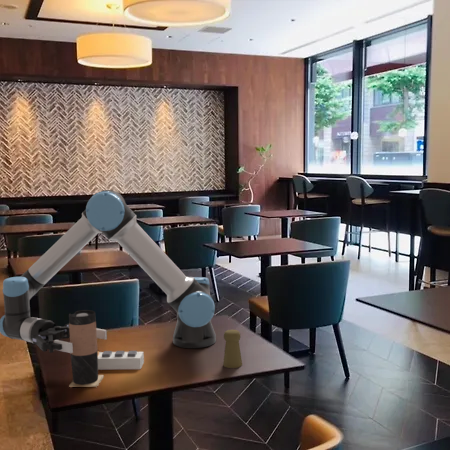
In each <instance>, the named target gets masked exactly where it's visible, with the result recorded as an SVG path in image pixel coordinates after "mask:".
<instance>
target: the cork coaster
mask: <svg viewBox="0 0 450 450" xmlns="http://www.w3.org/2000/svg"><path fill="white" fill-rule="evenodd" d="M104 376H105V375H104V374H98V380H97V381H96V382H94V383H91V384H85V385H79V384H75V383H74V382H73V380H72V381H71V383H70V384H69V385H68V388H69V387H96V388H98V387H99V385H100V384H101V382H102V381H103V380H104ZM99 383H100V384H99ZM97 386H98V387H97Z"/></svg>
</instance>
